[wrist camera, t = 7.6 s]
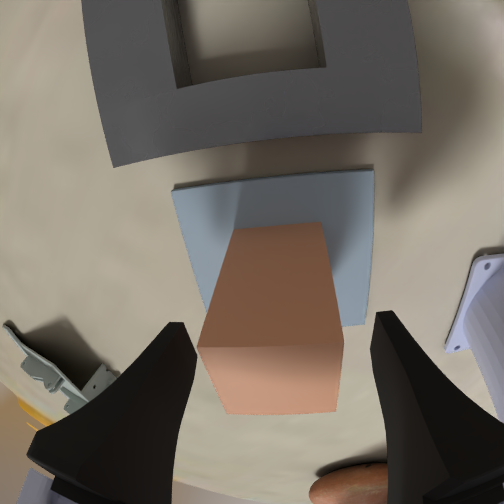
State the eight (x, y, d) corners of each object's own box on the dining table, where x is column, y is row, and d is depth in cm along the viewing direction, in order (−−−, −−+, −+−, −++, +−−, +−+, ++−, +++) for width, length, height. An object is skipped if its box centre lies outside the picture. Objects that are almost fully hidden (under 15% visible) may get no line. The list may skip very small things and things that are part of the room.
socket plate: (366, -74, 6) (377, -92, 4) (402, 124, 11) (421, 132, 9) (102, -28, 8) (79, -37, 6) (134, 155, 13) (113, 167, 11)
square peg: (320, 221, 13) (344, 341, 7) (323, 291, 15) (336, 411, 9) (233, 229, 14) (196, 347, 8) (247, 296, 16) (227, 414, 10)
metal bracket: (26, 366, 15) (139, 461, 22) (72, 313, 19) (166, 418, 27) (-10, 333, 22) (70, 416, 29) (22, 300, 26) (93, 385, 33)
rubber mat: (372, 169, 12) (374, 171, 12) (363, 320, 17) (364, 324, 16) (172, 189, 13) (170, 191, 13) (214, 329, 18) (213, 332, 18)
